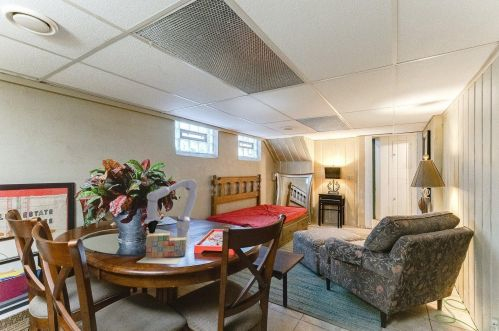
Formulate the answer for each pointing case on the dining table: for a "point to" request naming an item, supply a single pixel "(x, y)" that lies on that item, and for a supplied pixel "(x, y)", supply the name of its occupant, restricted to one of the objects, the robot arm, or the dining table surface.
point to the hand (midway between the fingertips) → (152, 233)
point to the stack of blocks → (164, 246)
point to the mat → (160, 260)
